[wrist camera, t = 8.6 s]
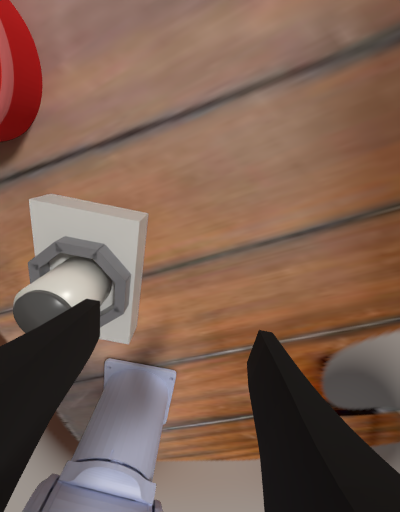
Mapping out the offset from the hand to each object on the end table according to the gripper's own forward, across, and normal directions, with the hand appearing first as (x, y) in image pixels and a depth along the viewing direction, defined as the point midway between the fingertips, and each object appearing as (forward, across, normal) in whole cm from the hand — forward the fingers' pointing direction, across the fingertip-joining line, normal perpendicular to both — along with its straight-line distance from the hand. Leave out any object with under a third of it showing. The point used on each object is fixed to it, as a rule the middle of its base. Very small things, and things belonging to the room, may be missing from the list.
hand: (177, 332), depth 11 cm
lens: (+8, +8, +4) cm, 12 cm away
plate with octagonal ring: (+10, +8, +4) cm, 14 cm away
